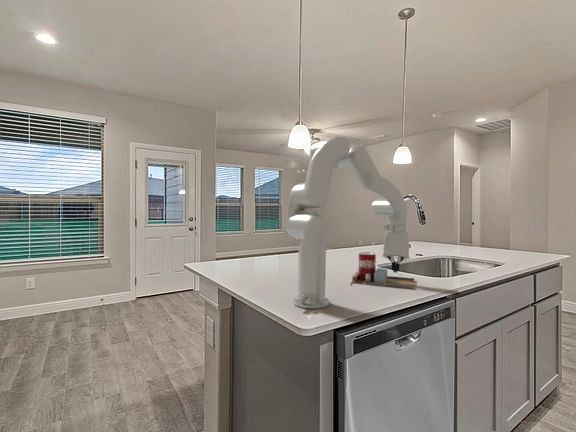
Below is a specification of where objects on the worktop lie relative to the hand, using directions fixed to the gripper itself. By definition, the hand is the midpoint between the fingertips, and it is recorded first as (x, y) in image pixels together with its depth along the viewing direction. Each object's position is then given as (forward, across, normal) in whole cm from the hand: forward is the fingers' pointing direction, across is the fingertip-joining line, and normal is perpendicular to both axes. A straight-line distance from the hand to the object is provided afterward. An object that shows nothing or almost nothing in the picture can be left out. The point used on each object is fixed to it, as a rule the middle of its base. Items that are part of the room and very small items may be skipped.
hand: (395, 271), depth 135 cm
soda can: (+5, -12, 0) cm, 13 cm away
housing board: (+6, -4, +1) cm, 8 cm away
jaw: (+5, -6, +1) cm, 8 cm away
